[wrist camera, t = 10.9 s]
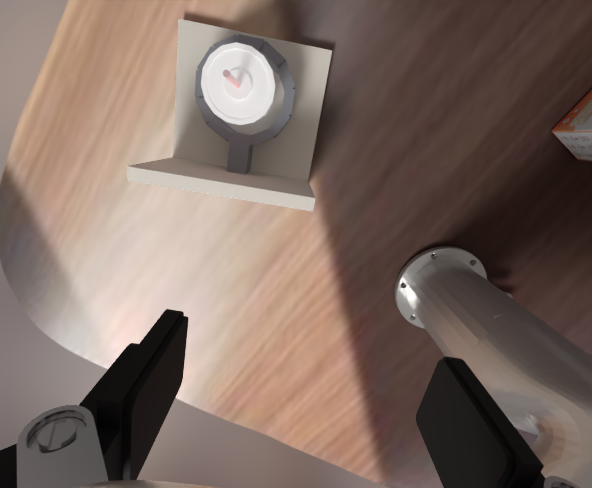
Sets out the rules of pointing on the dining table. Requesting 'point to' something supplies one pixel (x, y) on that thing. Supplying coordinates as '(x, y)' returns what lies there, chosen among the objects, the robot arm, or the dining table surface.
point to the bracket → (249, 137)
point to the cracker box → (577, 129)
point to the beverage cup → (238, 83)
